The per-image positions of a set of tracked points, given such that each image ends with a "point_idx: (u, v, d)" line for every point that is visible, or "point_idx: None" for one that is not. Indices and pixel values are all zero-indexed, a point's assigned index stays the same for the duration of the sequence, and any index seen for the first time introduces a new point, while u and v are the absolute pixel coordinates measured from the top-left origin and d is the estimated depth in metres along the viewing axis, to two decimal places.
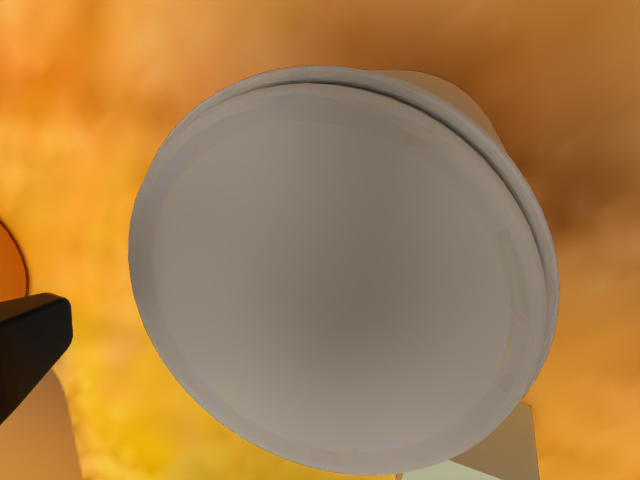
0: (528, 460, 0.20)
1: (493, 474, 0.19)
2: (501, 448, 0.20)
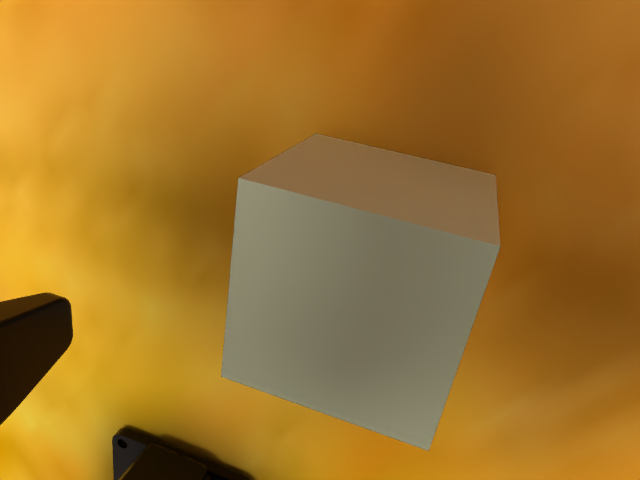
0: (479, 213, 0.10)
1: (399, 218, 0.09)
2: (427, 198, 0.10)
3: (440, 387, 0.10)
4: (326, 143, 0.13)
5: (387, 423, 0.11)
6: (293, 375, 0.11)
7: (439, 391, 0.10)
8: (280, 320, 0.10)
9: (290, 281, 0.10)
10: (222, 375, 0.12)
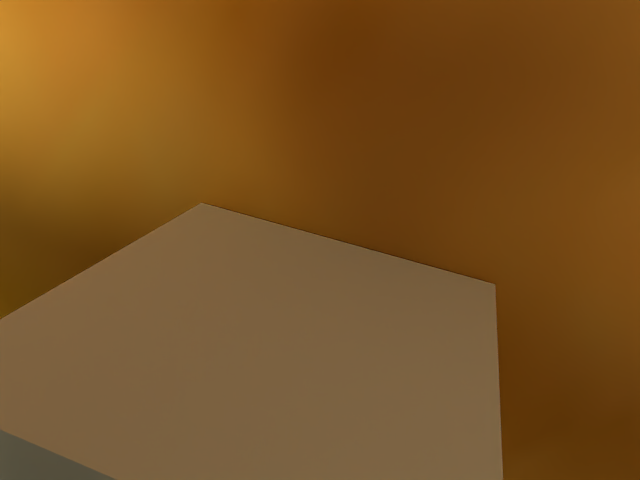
0: (460, 448, 0.04)
1: None
2: (348, 397, 0.05)
3: None
4: (203, 229, 0.08)
5: None
6: None
7: None
8: None
9: None
10: None
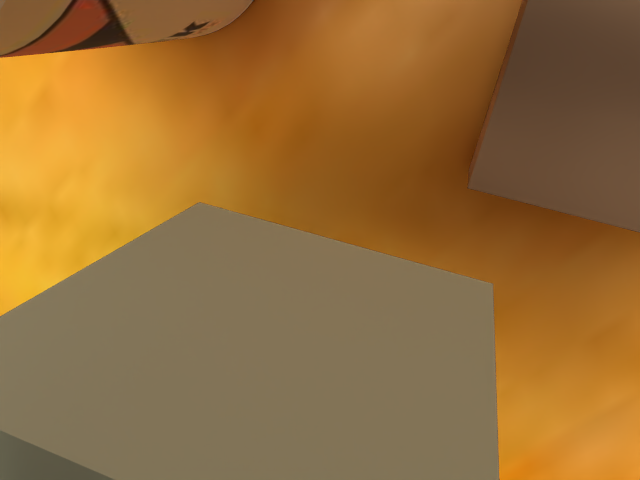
0: (456, 447, 0.04)
1: None
2: (345, 396, 0.05)
3: None
4: (201, 228, 0.08)
5: None
6: None
7: None
8: None
9: None
10: None
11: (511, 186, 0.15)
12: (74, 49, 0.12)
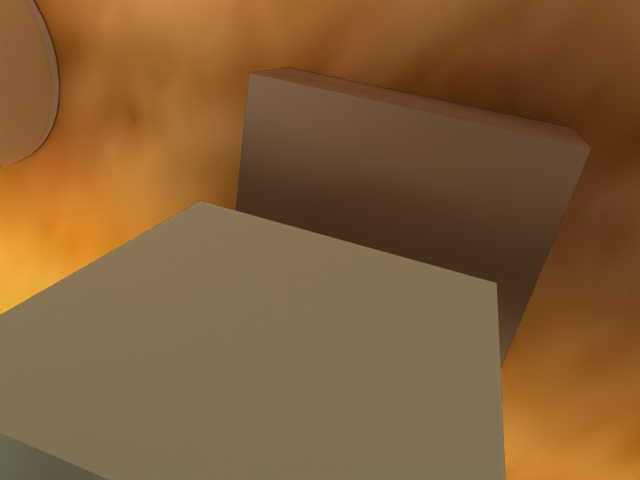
0: (461, 449, 0.04)
1: None
2: (349, 397, 0.05)
3: None
4: (202, 227, 0.07)
5: None
6: None
7: None
8: None
9: None
10: None
11: None
12: None
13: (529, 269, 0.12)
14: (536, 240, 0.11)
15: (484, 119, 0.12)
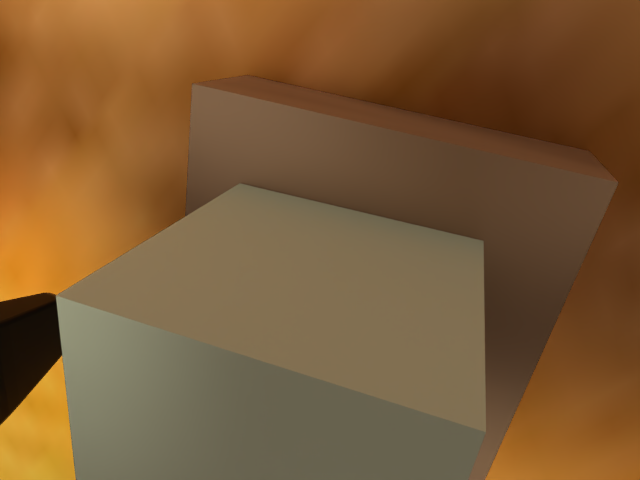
0: (454, 338, 0.06)
1: (315, 370, 0.05)
2: (373, 309, 0.06)
3: None
4: (246, 202, 0.09)
5: None
6: None
7: None
8: None
9: (155, 449, 0.06)
10: None
11: None
12: None
13: (537, 327, 0.09)
14: (546, 293, 0.09)
15: (481, 142, 0.09)
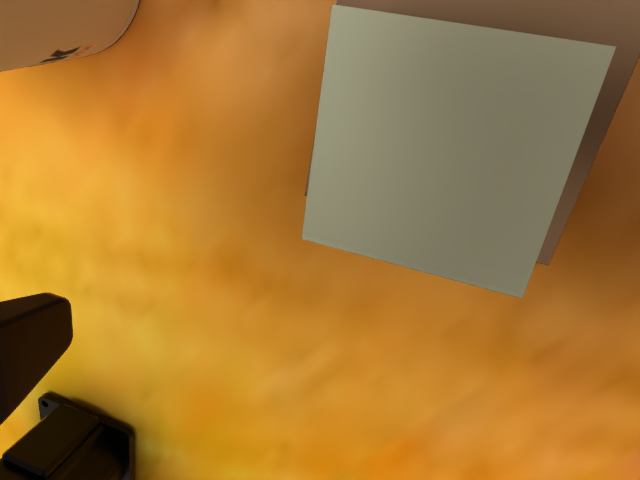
0: None
1: (505, 30, 0.09)
2: None
3: (540, 222, 0.10)
4: None
5: (478, 271, 0.10)
6: (379, 228, 0.11)
7: (538, 227, 0.10)
8: (369, 165, 0.10)
9: (381, 118, 0.10)
10: (303, 237, 0.11)
11: None
12: None
13: (609, 100, 0.13)
14: (617, 69, 0.12)
15: None
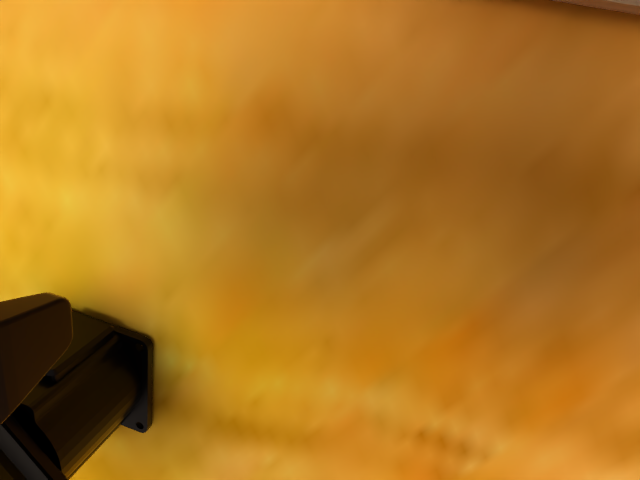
0: None
1: None
2: None
3: None
4: None
5: None
6: None
7: None
8: None
9: None
10: None
11: None
12: None
13: None
14: None
15: None
